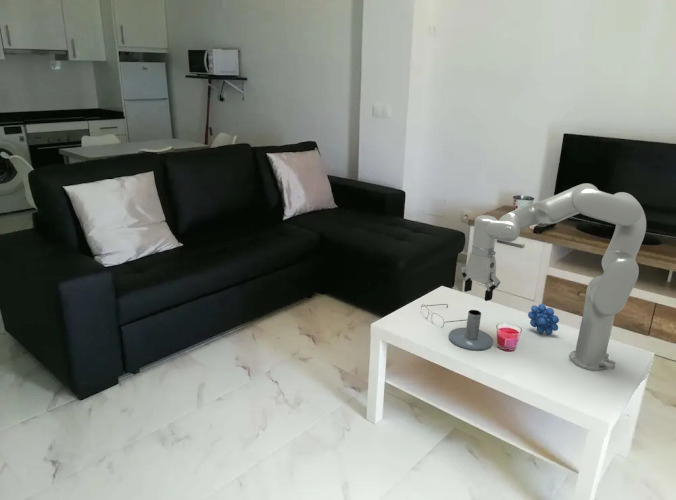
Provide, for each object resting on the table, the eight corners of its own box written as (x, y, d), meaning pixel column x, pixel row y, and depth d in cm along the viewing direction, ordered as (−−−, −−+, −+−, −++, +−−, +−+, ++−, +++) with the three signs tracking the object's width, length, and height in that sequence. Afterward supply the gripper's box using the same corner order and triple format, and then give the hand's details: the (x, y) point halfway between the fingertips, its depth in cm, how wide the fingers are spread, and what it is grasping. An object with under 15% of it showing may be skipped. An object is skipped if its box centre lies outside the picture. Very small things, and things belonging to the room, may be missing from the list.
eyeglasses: (417, 313, 217) (418, 302, 215) (447, 308, 223) (448, 297, 221) (440, 330, 203) (441, 318, 201) (471, 324, 209) (472, 312, 207)
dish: (501, 344, 193) (502, 341, 193) (471, 355, 185) (472, 352, 184) (469, 326, 206) (469, 324, 205) (439, 336, 197) (440, 333, 197)
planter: (463, 338, 194) (467, 313, 190) (467, 333, 197) (470, 308, 194) (476, 341, 192) (479, 316, 188) (479, 336, 196) (482, 311, 192)
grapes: (522, 333, 202) (527, 304, 198) (526, 326, 208) (531, 299, 204) (554, 341, 197) (559, 312, 193) (557, 334, 202) (563, 306, 198)
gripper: (509, 255, 179) (503, 301, 184) (471, 242, 193) (467, 285, 198) (494, 259, 175) (489, 306, 180) (457, 245, 189) (452, 289, 194)
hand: (477, 295), depth 189 cm, fingers open, 9 cm apart
